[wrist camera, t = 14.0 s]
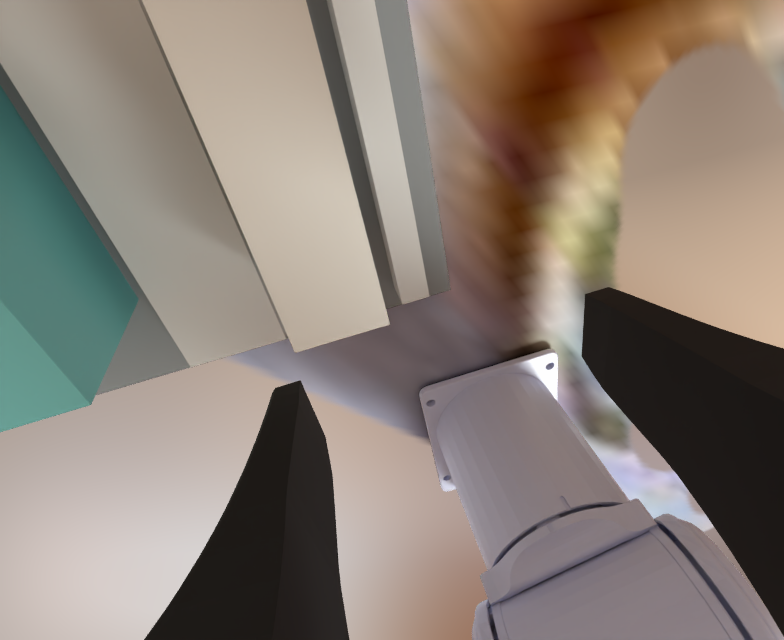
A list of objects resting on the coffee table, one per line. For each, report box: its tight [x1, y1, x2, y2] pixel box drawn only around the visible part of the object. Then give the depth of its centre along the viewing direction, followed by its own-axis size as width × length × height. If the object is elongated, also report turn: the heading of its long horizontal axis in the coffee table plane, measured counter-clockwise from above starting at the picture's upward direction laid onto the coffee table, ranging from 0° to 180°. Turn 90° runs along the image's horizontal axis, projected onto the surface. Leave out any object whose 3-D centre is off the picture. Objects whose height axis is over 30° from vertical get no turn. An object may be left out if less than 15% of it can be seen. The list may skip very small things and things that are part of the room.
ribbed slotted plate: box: [0, 0, 451, 395], centre depth 16 cm, size 16×19×2 cm
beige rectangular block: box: [142, 0, 390, 353], centre depth 14 cm, size 9×3×6 cm, turn 12°
